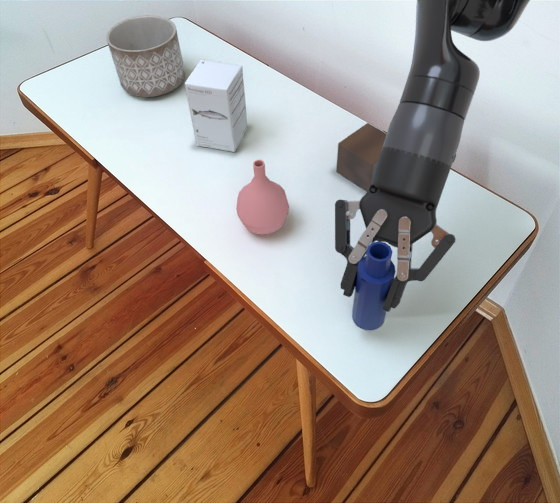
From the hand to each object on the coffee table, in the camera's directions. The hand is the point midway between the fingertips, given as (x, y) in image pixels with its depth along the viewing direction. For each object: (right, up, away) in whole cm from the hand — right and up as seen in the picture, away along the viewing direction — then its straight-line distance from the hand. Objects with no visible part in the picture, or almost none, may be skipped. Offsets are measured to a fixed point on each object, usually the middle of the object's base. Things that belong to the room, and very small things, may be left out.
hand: (367, 301), depth 58 cm
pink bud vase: (-12, +10, +20) cm, 25 cm away
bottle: (+1, -2, +6) cm, 6 cm away
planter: (-35, +39, +44) cm, 68 cm away
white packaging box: (-20, +26, +33) cm, 46 cm away
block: (+4, +19, +26) cm, 32 cm away
